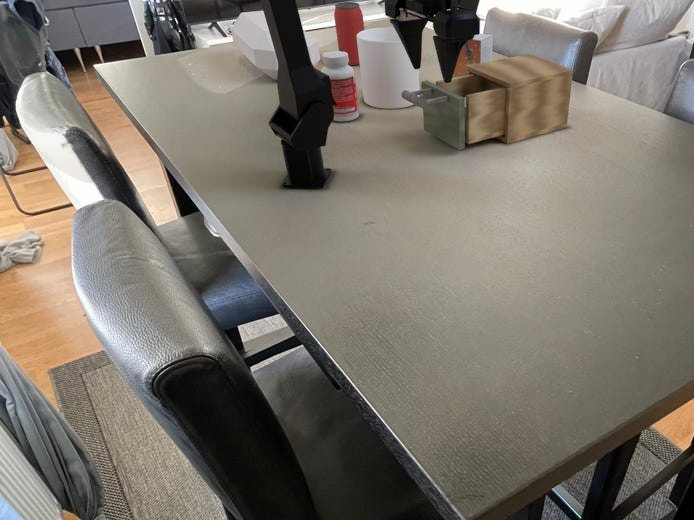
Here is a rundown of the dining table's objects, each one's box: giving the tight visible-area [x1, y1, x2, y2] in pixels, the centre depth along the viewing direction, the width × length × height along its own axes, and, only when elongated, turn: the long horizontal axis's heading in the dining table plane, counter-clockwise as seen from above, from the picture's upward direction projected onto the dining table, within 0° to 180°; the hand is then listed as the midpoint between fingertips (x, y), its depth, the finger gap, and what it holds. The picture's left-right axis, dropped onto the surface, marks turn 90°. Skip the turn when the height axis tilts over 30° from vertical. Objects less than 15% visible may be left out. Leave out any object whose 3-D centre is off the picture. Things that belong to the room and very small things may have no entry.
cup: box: [356, 26, 421, 110], centre depth 118 cm, size 12×12×12 cm
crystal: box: [230, 10, 321, 82], centre depth 135 cm, size 14×10×28 cm
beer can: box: [333, 1, 365, 66], centre depth 138 cm, size 7×7×12 cm
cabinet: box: [467, 53, 574, 145], centre depth 109 cm, size 15×13×10 cm
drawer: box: [401, 74, 507, 151], centre depth 103 cm, size 19×11×8 cm, turn 126°
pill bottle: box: [320, 50, 360, 122], centre depth 111 cm, size 6×6×11 cm
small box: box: [452, 33, 494, 78], centre depth 124 cm, size 8×6×10 cm
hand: (432, 75), depth 96 cm, fingers open, 9 cm apart
